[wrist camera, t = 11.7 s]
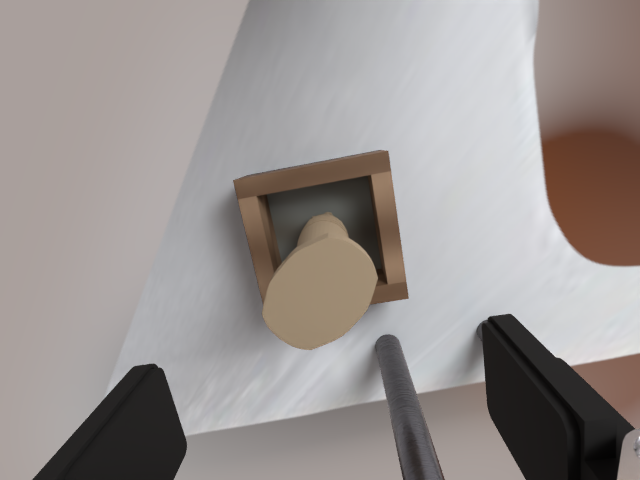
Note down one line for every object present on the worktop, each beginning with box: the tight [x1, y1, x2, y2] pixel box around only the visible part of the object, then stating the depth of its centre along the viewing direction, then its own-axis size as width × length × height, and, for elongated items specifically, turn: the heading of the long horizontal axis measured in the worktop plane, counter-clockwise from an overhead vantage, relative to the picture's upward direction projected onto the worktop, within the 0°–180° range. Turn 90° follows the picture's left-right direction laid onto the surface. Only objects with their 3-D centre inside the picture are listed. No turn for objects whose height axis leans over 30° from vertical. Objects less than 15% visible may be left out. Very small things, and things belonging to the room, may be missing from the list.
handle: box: [262, 212, 378, 350], centre depth 26 cm, size 5×6×15 cm
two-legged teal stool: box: [376, 320, 488, 480], centre depth 20 cm, size 8×14×34 cm, turn 101°
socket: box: [233, 150, 409, 306], centre depth 32 cm, size 12×12×5 cm
